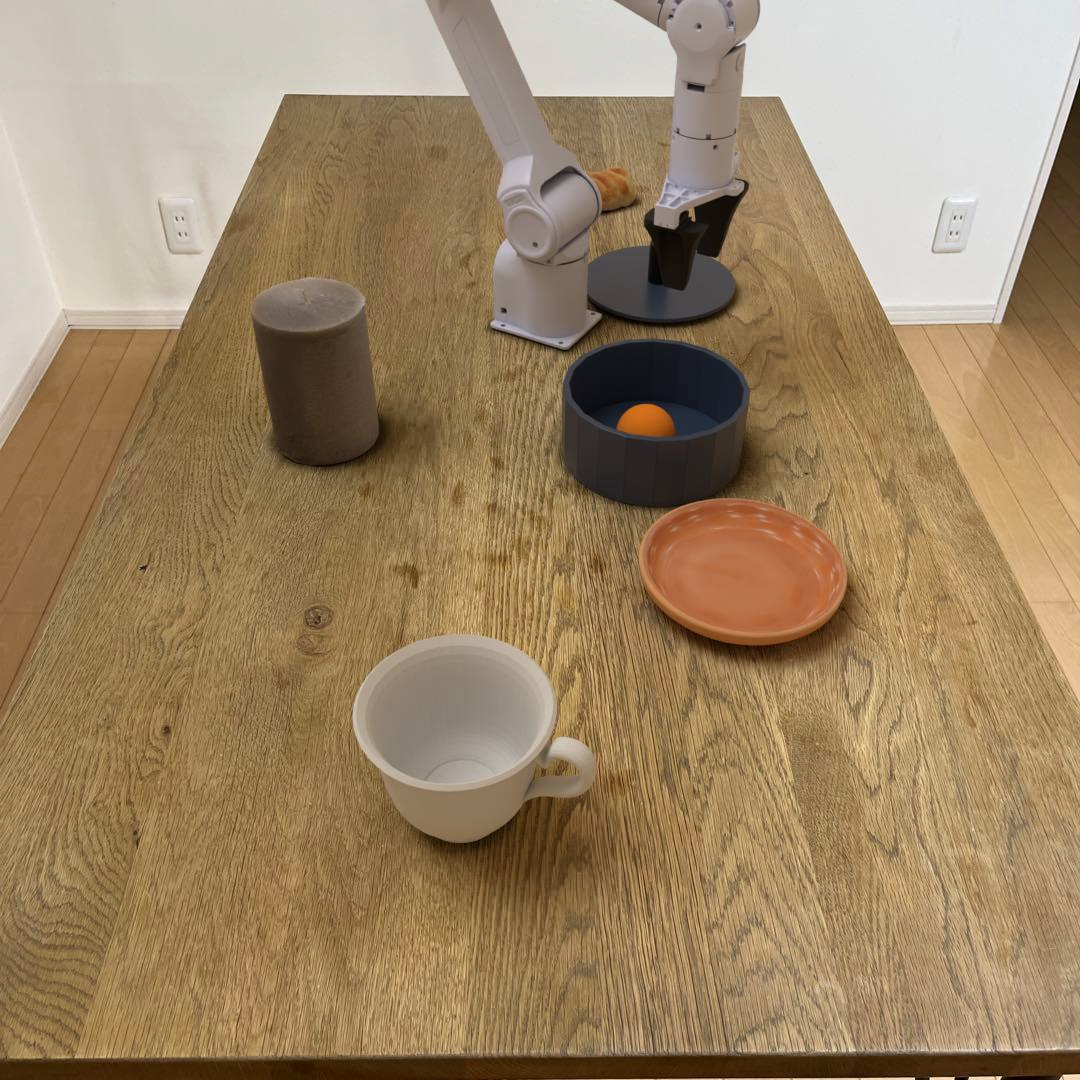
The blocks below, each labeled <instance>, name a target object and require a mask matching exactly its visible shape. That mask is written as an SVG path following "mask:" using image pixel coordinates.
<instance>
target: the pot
mask: <svg viewBox="0 0 1080 1080" xmlns="http://www.w3.org/2000/svg"><path fill="white" fill-rule="evenodd" d="M561 387H562V389H561V390H562V391H561V393H562V394H561V395H562V396H561V441H560V443H561V449H562V450H561V451H562V458H563V461H564V463H565V465H566V467H567V469H568V471H569V472H570V474H571V475H572V476H573V477H574V478H575V479H576V480H577V481H578V482H579V483H580V484H582V485H583V486H584V487H586V488H588V489H589V490H591V491H592V492H594V493H596V494H598V495H600V496H602V497H605V498H607V499H610V500H613V501H616V502H619V503H624V504H628V505H633V506H641V507H652V508H653V507H654V508H656V507H657V508H660V507H661V508H662V507H663V508H665V507H675V506H684V505H687V504H690V503H694V502H698V501H703V500H705V499H706V498H709V497H711V496H713V495H715V494H716V493H718V492H720V491H721V490H723V489H724V488H725V487H727V486H728V485H729V484H730V483H731V481H732V480H733V479H734V478H735V476H736V475H737V473H738V470H739V468H740V465H741V458H742V453H743V445H744V438H745V431H746V427H747V426H746V425H747V418H748V411H749V404H750V397H751V388H750V385H749V383H748V381H747V378H746V376H745V374H744V373H743V371H741V370H740V369H739V368H738V367H737V366H736V365H735V363H733V362H732V361H731V360H730V359H728V358H726V357H725V356H722V355H721V354H718V353H717V352H714V351H713V350H711V349H709V348H707V347H703V346H699V345H697V344H693V343H690V342H686V341H682V340H675V339H666V338H658V337H657V338H654V337H650V338H631V339H623V340H618V341H615V342H611V343H606V344H601V345H599V346H597V347H595V348H594V349H591V350H589V351H588V352H584V353H583V354H581V355H580V356H579V357H578V358H577V359H576V360H575V361H573V363H572V364H571V365H569V367H568V368H567V371H566V373H565V376H564V378H563V380H562V386H561ZM641 404H652V405H655V406H658V407H660V408H662V409H663V410H664V411H666V412H667V413H668V414H669V416H670V417H671V419H672V421H673V423H674V426H675V436H672V437H652V436H644V435H636V434H629V433H626V432H623V431H620V430H617V426H618V423H619V420H620V419H621V417H622V416H623V414H624V413H625V412H626V411H627V410H629V409H630V408H632V407H634V406H637V405H641Z"/></svg>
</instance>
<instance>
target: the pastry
mask: <svg viewBox="0 0 1080 1080" xmlns="http://www.w3.org/2000/svg"><path fill="white" fill-rule="evenodd" d="M586 174H587V175H588V176H589V177H591V178H592V180H593V181H594V182H595V183H596V185H597V187H598V189H599V191H600V194H601V198H602V210H601V213H603V212H607V211H614V210H617V209H620V208H621V207H628V206H630V205H631V204H633V203H634V201H635V200H636V199H637V197H638V190H637V188H636V184H635V182H634V181H633V178H632V175H631V173H630V172H629V171H628V170H627V169H625V168H624V167H623V166H616V167H615V166H613V165H612V166H609V167H608V168H607V169H604V170H603V169H602V170H598V171H594V172H593V171H592V172H589V173H586Z"/></svg>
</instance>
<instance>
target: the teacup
mask: <svg viewBox="0 0 1080 1080" xmlns="http://www.w3.org/2000/svg"><path fill="white" fill-rule="evenodd" d="M557 703H558V702H557V695H556V691H555V688H554V686H553V684H552V682H551V679H550V678H549V676H548V675H547V673H546V672H545V670H544V669H543V668H542V666H541V665H540V664H538V662H537V661H536V660H534V659H533V658H532V657H531V656H530V655H529V654H528V653H526V652H524V651H523V650H521V649H519V648H518V647H516V646H514V645H512V644H510V643H508V642H505V641H503V640H500V639H497V638H492V637H489V636H485V635H477V634H468V633H467V634H466V633H456V634H453V633H452V634H444V635H443V634H442V635H436V636H432V637H428V638H423V639H421V640H417V641H414V642H412V643H410V644H407V645H405V646H403V647H400V648H399V649H397V650H396V651H393V652H392V653H390V654H389V655H388V656H386V657H385V658H383V660H381V661H380V662H379V663H378V664H376V666H375V667H374V668H373V669H372V670H371V671H370V672H369V674H368V675H367V676H366V677H365V680H364V681H363V682H362V684H361V685H360V687H359V690H358V691H357V694H356V696H355V700H354V704H353V708H352V716H351V717H352V727H353V731H354V734H355V738H356V741H357V742H358V744H359V747H360V748H361V750H362V751H363V753H364V754H365V756H366V757H367V758H368V760H370V762H372V764H373V765H374V766H376V768H378V769H379V772H380V775H381V778H382V781H383V784H384V787H385V789H386V791H387V793H388V795H389V797H390V799H391V801H392V803H393V805H394V807H395V808H396V809H397V811H398V812H399V814H400V815H401V816H402V817H403V818H404V819H405V821H407V822H408V823H409V824H410V825H412V826H413V827H414V828H416V829H417V830H418V831H421V832H422V833H424V834H426V835H428V836H430V837H431V836H432V837H433V838H434V837H435V838H437V839H438V840H439V839H440V840H442V841H445V842H448V843H455V844H464V843H472V842H475V841H479V840H481V839H483V838H485V837H487V836H489V835H490V834H491V833H493V832H495V831H497V830H498V829H500V828H502V827H503V826H504V825H505V824H507V823H508V822H509V821H511V819H513V817H514V816H515V815H516V814H517V813H518V812H519V811H520V809H521V807H522V806H523V804H524V803H525V802H528V801H529V800H531V799H534V798H539V797H550V798H559V799H570V798H576V797H578V796H579V797H580V796H581V795H583V794H585V793H586V792H587V791H588V790H590V788H591V787H592V785H593V783H594V781H595V779H596V776H597V766H598V765H597V761H596V758H595V755H594V753H593V751H592V750H591V748H589V747H588V746H587V745H586V744H584V743H583V742H581V741H580V740H578V739H575V738H573V737H569V736H559V737H556V738H555V739H554V740H553V741H552V742H551V744H549V743H548V742H549V740H550V738H551V735H552V733H553V731H554V728H555V725H556V720H557V713H558V712H557V711H558V704H557ZM555 760H561V761H564V762H566V763H569V764H570V765H572V766H573V767H574V768H575V769H576V770H577V771H578V774H574V775H554V774H553V775H544V776H540V777H537V778H536V779H534V776H535V772H536V767H537V765H538V766H540V768H541V769H548V768H550V767H551V765H552V764H553V763H554V761H555Z"/></svg>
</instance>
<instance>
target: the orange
mask: <svg viewBox="0 0 1080 1080" xmlns="http://www.w3.org/2000/svg"><path fill="white" fill-rule="evenodd" d="M617 430H620V431H623V432H626V433H629V434H636V435H644V436H652V437H672V436H675V426H674V423H673V421H672V419H671V417H670V416H669V414H668V413H667V412H666V411H664V410H663V409H662V408H660V407H658V406H655V405H652V404H641V405H637V406H634V407H632V408H630V409H629V410H627V411H626V412H625V413H624V414H623V416H622V417H621V419H620V420H619V423H618V426H617Z"/></svg>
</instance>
